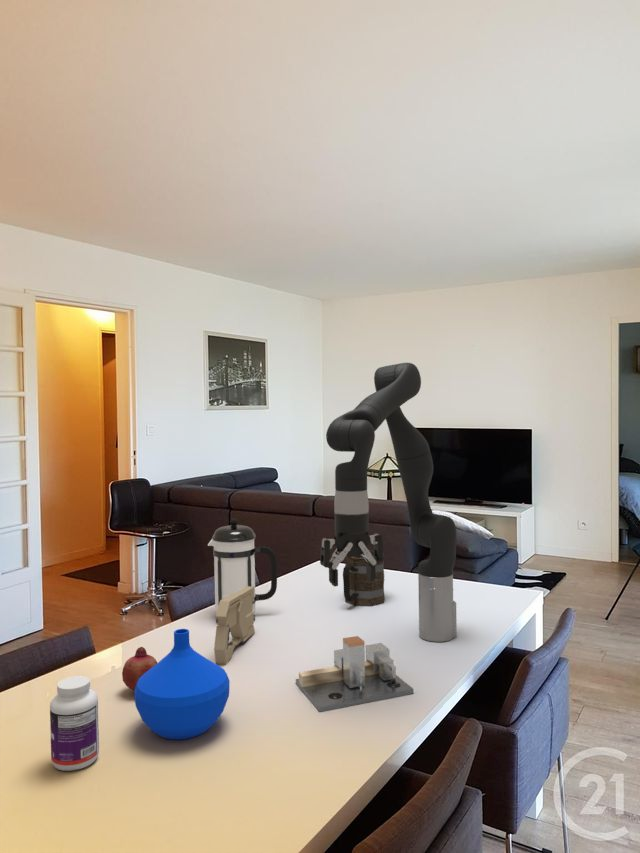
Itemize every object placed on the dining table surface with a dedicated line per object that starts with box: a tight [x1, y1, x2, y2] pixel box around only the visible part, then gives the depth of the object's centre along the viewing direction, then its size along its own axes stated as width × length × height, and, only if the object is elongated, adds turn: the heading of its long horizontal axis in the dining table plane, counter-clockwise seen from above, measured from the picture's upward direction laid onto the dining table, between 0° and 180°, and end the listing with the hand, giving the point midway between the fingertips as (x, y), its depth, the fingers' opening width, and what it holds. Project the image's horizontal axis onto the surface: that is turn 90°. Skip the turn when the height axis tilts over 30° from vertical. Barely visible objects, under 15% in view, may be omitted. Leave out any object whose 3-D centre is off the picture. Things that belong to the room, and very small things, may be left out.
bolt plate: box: [295, 674, 414, 713], centre depth 145 cm, size 22×15×1 cm
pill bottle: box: [49, 675, 100, 772], centre depth 116 cm, size 8×8×14 cm
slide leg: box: [333, 635, 366, 690], centre depth 146 cm, size 4×11×10 cm, turn 21°
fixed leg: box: [365, 642, 397, 684], centre depth 149 cm, size 4×11×5 cm, turn 21°
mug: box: [342, 549, 386, 607], centre depth 208 cm, size 20×14×15 cm
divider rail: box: [298, 660, 379, 687], centre depth 149 cm, size 22×2×2 cm, turn 111°
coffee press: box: [207, 517, 278, 624], centre depth 196 cm, size 17×16×30 cm
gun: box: [213, 586, 256, 666], centre depth 171 cm, size 24×3×15 cm, turn 168°
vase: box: [133, 628, 230, 741], centre depth 128 cm, size 18×18×19 cm
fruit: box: [121, 646, 158, 691], centre depth 145 cm, size 8×8×10 cm
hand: (352, 583), depth 144 cm, fingers open, 8 cm apart
